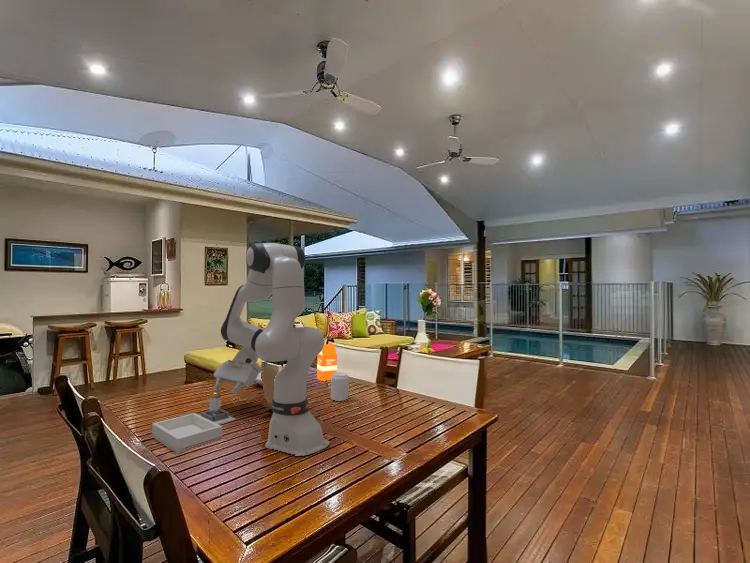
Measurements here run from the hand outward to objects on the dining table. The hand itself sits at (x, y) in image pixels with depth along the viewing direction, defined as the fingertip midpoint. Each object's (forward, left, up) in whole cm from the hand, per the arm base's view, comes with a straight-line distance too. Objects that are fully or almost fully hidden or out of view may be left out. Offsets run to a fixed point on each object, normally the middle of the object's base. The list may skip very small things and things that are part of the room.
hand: (223, 391), depth 157 cm
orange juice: (+14, -70, -11) cm, 72 cm away
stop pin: (-1, +4, -9) cm, 10 cm away
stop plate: (-1, +4, -10) cm, 11 cm away
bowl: (+25, -44, -11) cm, 52 cm away
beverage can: (-17, -49, -11) cm, 53 cm away
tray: (-10, +19, -10) cm, 24 cm away
